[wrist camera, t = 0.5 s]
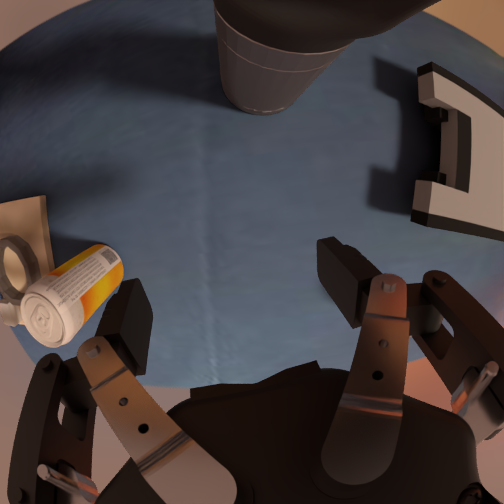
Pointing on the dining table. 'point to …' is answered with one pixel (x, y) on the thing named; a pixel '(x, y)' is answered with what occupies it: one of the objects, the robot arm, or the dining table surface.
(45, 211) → the board
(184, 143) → the dining table surface
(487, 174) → the game console
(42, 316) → the beer can
